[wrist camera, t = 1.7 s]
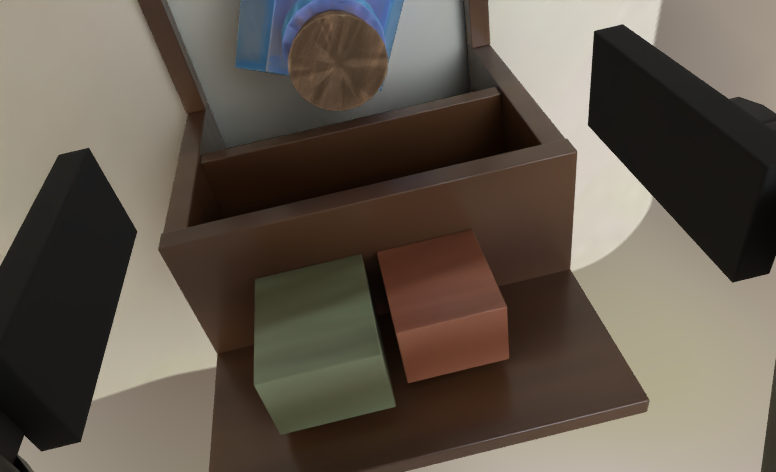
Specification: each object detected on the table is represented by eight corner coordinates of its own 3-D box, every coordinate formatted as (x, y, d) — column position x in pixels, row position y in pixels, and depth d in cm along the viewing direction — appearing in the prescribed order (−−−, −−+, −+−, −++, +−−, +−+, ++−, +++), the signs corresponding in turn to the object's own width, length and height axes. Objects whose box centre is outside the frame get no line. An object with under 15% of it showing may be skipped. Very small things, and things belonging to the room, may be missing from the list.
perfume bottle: (362, 38, 30) (406, 160, 21) (239, 16, 28) (229, 138, 19) (391, -94, 26) (460, -17, 17) (252, -129, 25) (247, -63, 16)
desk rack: (73, -165, 23) (-244, -36, 9) (469, -250, 23) (806, -265, 9) (233, 209, 35) (214, 521, 21) (490, 149, 36) (647, 414, 21)
